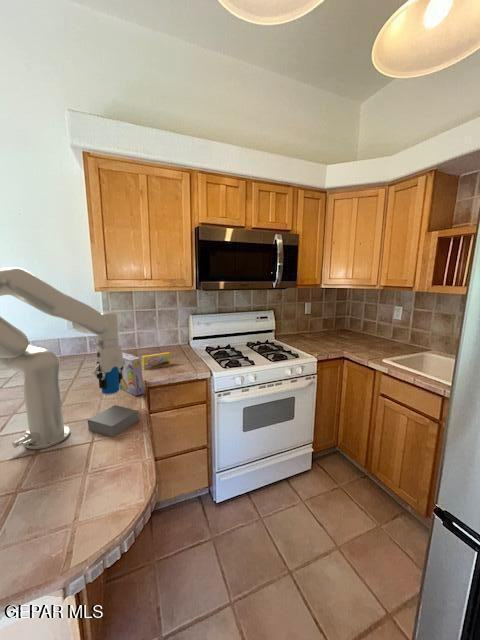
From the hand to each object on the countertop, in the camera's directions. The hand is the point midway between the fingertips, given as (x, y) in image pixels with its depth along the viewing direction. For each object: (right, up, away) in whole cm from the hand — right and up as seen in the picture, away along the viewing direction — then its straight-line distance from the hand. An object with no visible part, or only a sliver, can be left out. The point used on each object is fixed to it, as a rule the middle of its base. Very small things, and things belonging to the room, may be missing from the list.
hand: (110, 385), depth 112 cm
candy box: (+3, -2, +54) cm, 55 cm away
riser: (+7, -12, -11) cm, 18 cm away
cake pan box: (0, -8, +20) cm, 22 cm away
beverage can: (0, -3, 0) cm, 3 cm away
